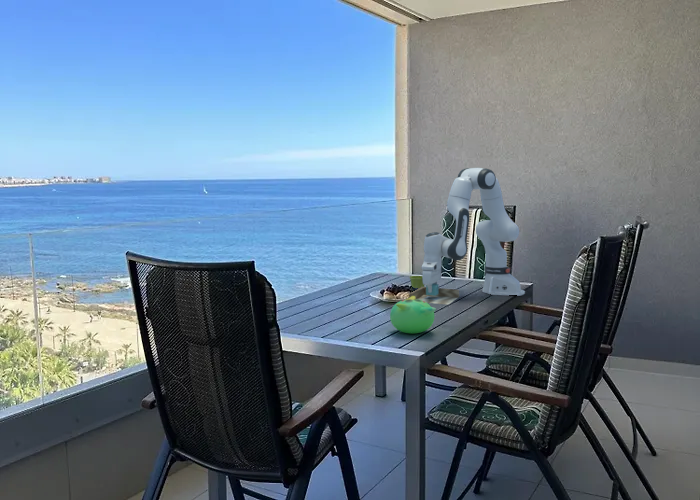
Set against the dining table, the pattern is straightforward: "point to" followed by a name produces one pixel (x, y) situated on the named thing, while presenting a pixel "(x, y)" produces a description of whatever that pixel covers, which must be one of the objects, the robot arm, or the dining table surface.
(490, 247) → the robot arm
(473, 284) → the dining table surface
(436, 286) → the cube
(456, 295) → the arena
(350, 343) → the dining table surface
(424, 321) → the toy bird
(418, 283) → the plant pot
